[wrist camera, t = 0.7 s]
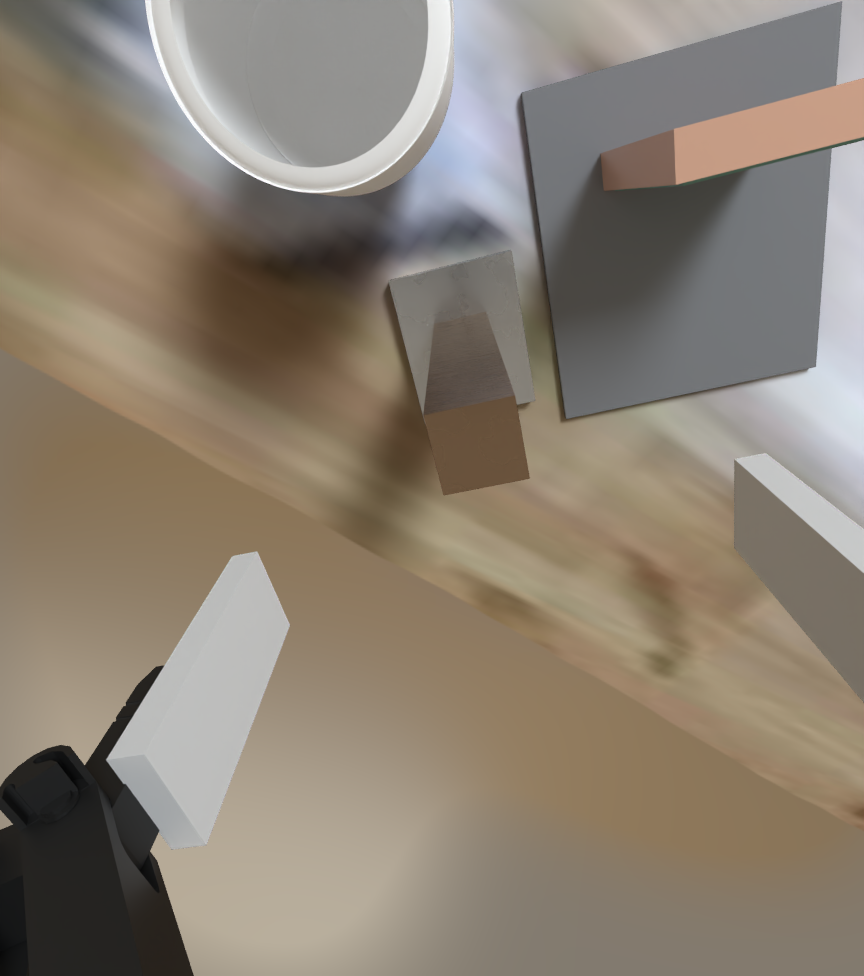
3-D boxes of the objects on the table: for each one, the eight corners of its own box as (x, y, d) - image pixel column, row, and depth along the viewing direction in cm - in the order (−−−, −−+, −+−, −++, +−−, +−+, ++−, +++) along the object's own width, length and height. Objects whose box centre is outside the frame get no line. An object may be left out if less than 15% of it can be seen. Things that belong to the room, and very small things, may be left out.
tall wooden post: (390, 279, 37) (340, 343, 20) (510, 249, 36) (565, 290, 19) (425, 419, 41) (409, 569, 24) (533, 396, 40) (595, 536, 23)
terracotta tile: (600, 153, 33) (673, 129, 22) (760, 110, 32) (919, 63, 21) (604, 193, 34) (676, 188, 23) (759, 153, 33) (911, 129, 22)
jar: (258, 168, 34) (136, 145, 21) (284, -49, 30) (148, -257, 16) (426, 220, 35) (412, 230, 22) (475, 18, 31) (496, -126, 17)
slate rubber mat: (521, 94, 32) (522, 92, 32) (836, 4, 30) (842, 1, 29) (565, 416, 41) (566, 418, 40) (811, 364, 39) (815, 366, 38)
